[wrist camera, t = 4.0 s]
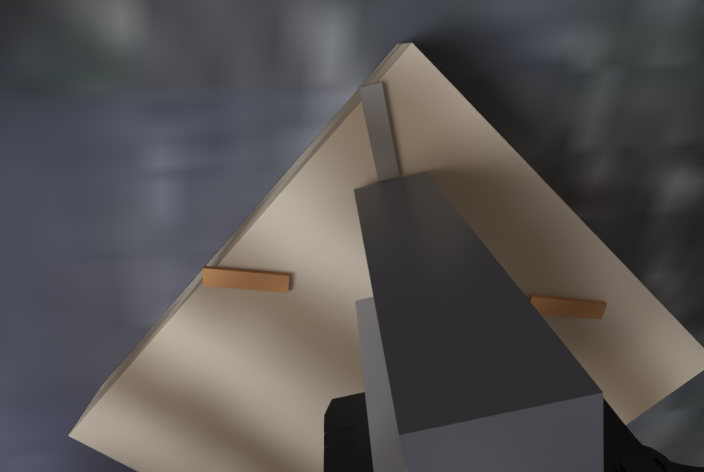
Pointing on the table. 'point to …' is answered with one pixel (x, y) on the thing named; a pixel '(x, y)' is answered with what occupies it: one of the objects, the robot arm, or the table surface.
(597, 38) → the table surface
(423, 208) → the dark grey block
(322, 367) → the instrument base
